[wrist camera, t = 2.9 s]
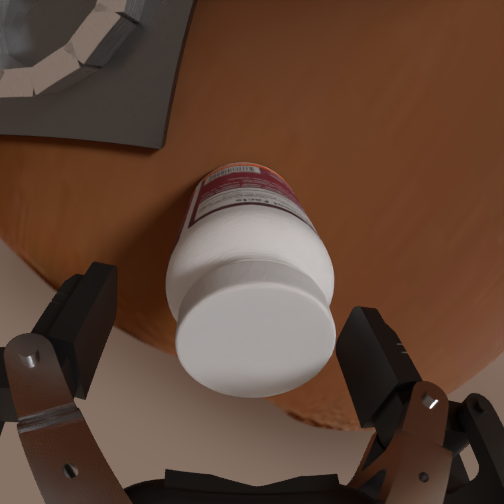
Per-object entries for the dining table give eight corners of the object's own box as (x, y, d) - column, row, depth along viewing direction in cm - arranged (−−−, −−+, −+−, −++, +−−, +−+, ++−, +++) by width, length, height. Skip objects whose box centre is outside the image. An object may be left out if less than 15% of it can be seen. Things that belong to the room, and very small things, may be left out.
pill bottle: (251, 276, 21) (266, 429, 11) (169, 222, 19) (113, 362, 9) (318, 203, 19) (398, 329, 9) (233, 136, 17) (233, 206, 7)
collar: (230, -97, 9) (230, -127, 6) (164, 145, 17) (148, 159, 13) (10, -71, 7) (-16, -83, 4) (-38, 131, 14) (-70, 142, 11)
